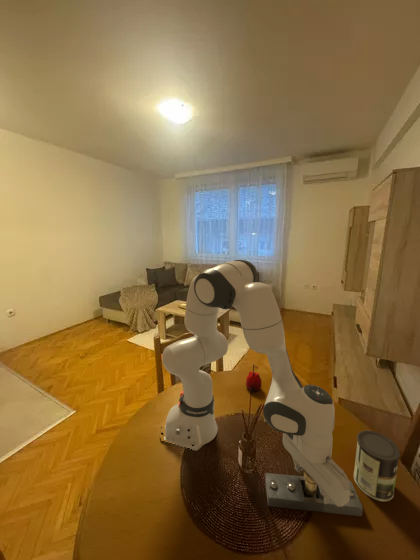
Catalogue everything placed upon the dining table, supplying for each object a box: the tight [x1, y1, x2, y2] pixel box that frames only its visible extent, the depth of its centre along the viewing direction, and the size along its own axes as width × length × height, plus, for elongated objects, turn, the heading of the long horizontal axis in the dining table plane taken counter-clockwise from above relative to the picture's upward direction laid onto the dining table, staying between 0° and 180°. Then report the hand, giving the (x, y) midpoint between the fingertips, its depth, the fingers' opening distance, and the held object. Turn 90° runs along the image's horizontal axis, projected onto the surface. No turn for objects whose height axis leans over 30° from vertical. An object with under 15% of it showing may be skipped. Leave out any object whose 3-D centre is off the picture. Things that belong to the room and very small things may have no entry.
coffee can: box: [353, 429, 401, 502], centre depth 71 cm, size 10×10×14 cm
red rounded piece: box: [245, 363, 262, 392], centre depth 116 cm, size 8×7×15 cm
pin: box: [303, 469, 318, 498], centre depth 68 cm, size 4×4×8 cm
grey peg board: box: [264, 472, 364, 517], centre depth 69 cm, size 25×7×4 cm, turn 83°
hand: (310, 484), depth 68 cm, fingers open, 8 cm apart
